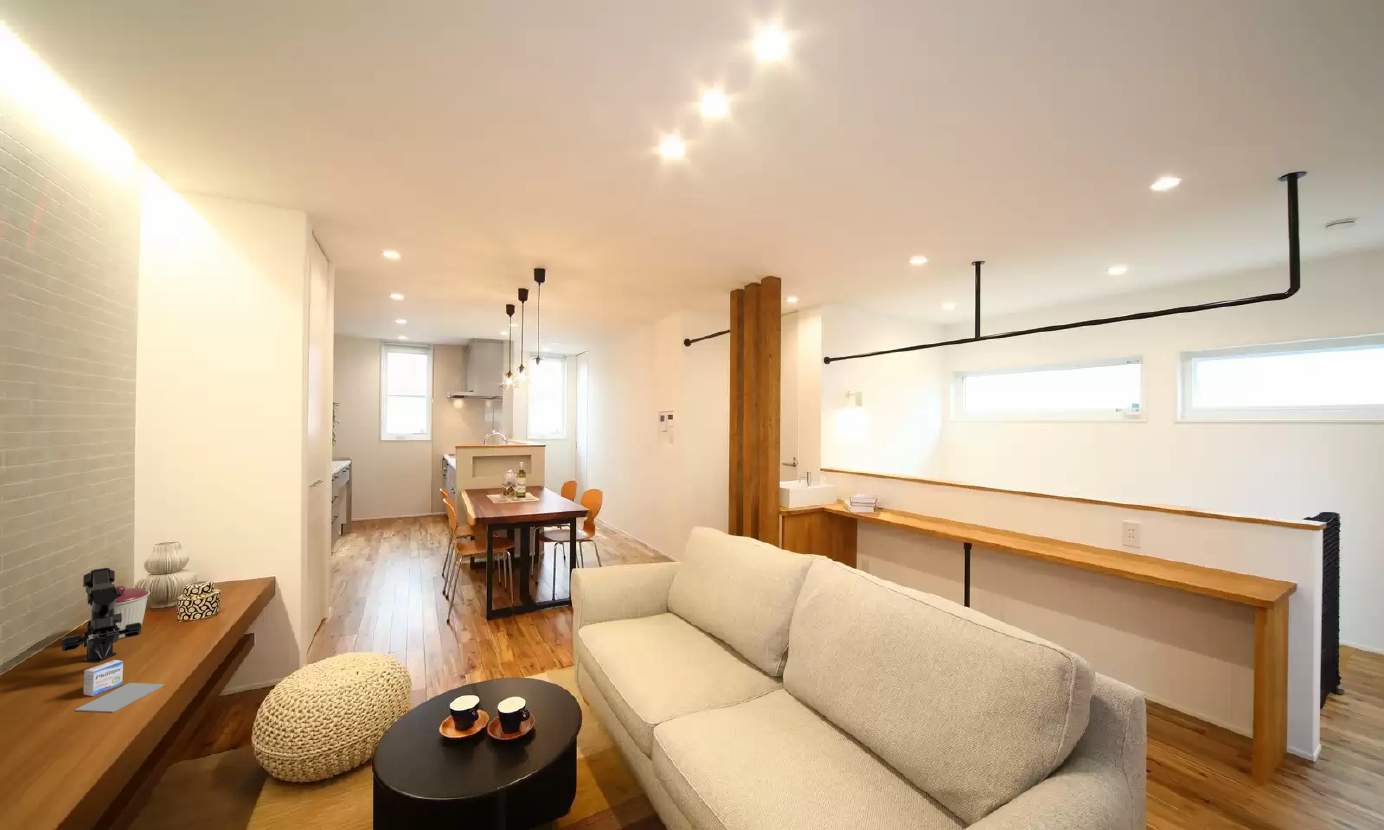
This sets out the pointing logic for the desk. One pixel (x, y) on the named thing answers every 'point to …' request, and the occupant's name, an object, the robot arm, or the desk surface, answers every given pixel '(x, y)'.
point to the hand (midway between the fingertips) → (103, 657)
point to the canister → (129, 606)
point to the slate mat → (120, 697)
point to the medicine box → (103, 677)
